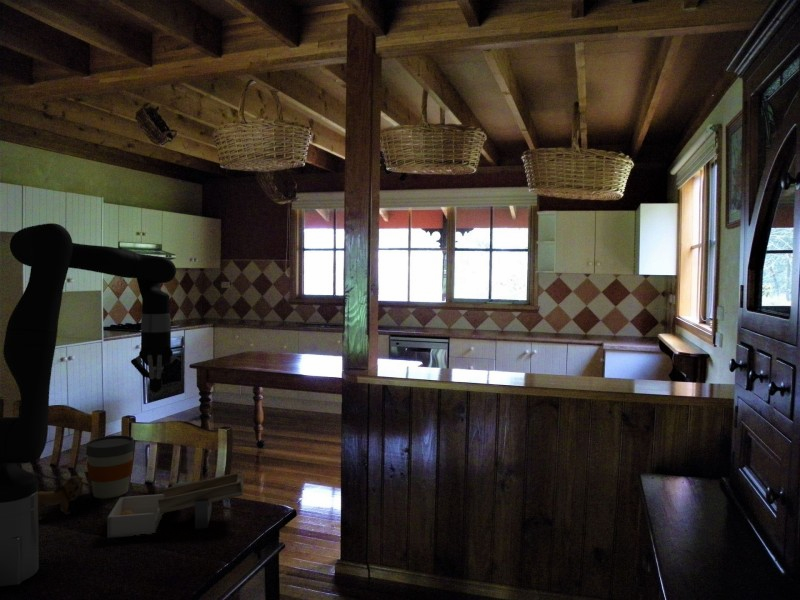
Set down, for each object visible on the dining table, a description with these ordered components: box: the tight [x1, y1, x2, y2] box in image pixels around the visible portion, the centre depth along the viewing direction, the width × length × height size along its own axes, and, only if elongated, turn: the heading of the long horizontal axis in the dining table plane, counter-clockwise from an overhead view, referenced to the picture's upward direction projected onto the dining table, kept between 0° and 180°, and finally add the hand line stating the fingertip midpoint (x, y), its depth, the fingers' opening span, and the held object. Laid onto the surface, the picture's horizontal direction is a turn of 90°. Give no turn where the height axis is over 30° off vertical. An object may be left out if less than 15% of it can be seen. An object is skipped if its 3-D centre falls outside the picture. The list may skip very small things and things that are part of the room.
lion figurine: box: [38, 475, 84, 521], centre depth 144 cm, size 15×5×9 cm, turn 132°
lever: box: [158, 471, 245, 514], centre depth 147 cm, size 18×20×4 cm
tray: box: [106, 493, 164, 539], centre depth 139 cm, size 13×11×5 cm
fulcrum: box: [194, 499, 213, 530], centre depth 143 cm, size 11×3×7 cm, turn 14°
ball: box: [121, 510, 133, 515], centre depth 139 cm, size 3×3×3 cm
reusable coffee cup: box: [85, 435, 136, 499], centre depth 159 cm, size 13×13×15 cm
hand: (156, 391), depth 152 cm, fingers closed
